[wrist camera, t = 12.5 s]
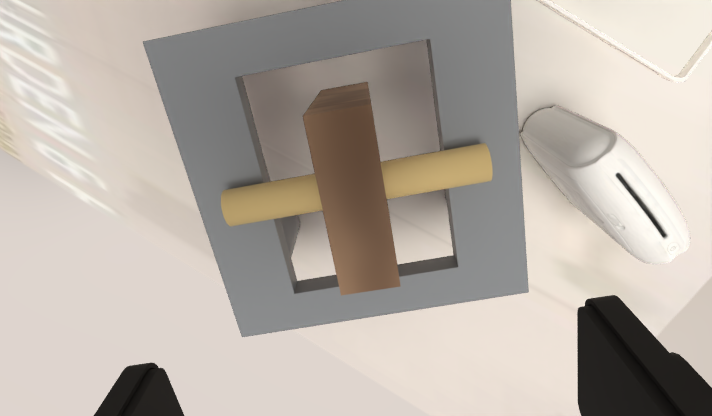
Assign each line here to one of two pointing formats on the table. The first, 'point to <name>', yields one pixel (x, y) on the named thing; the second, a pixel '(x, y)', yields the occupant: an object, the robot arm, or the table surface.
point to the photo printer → (608, 183)
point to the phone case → (683, 75)
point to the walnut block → (352, 188)
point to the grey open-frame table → (401, 176)
